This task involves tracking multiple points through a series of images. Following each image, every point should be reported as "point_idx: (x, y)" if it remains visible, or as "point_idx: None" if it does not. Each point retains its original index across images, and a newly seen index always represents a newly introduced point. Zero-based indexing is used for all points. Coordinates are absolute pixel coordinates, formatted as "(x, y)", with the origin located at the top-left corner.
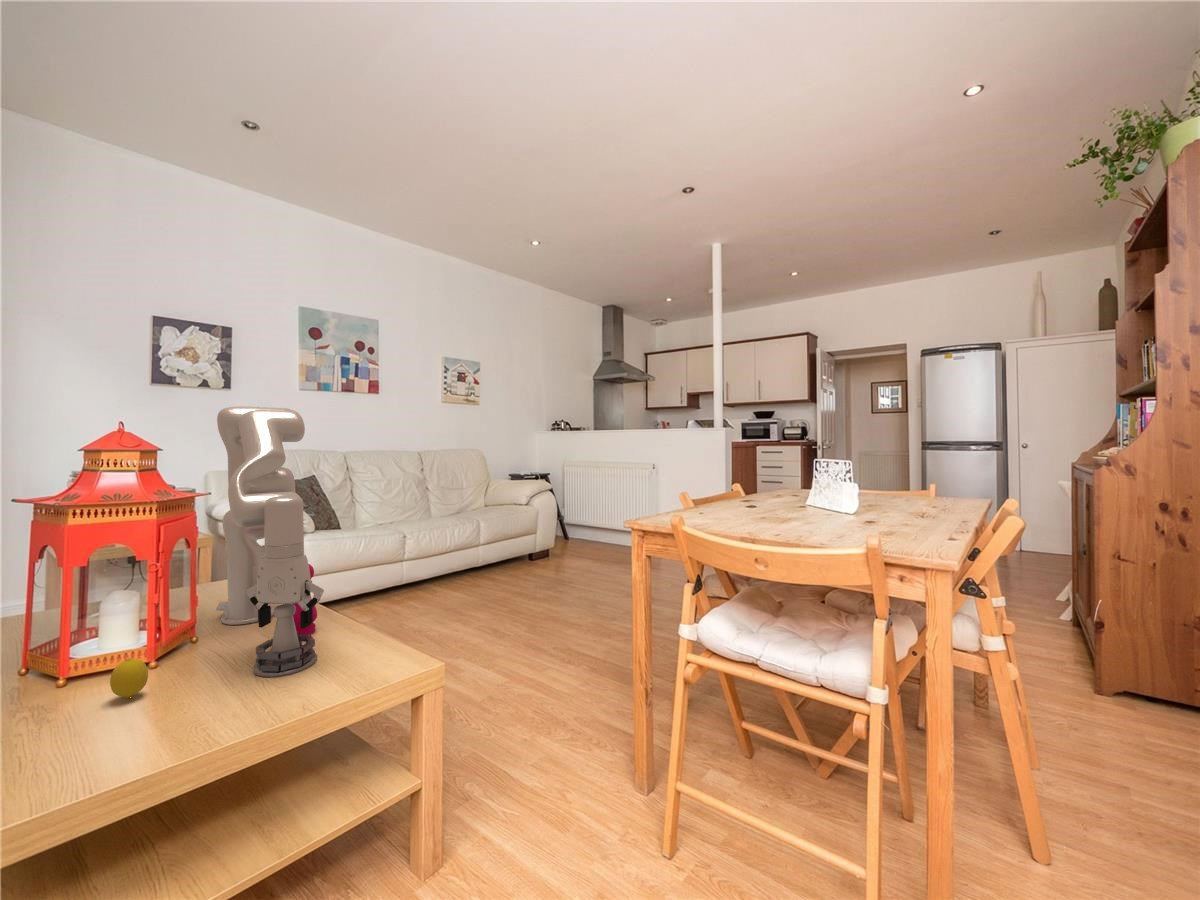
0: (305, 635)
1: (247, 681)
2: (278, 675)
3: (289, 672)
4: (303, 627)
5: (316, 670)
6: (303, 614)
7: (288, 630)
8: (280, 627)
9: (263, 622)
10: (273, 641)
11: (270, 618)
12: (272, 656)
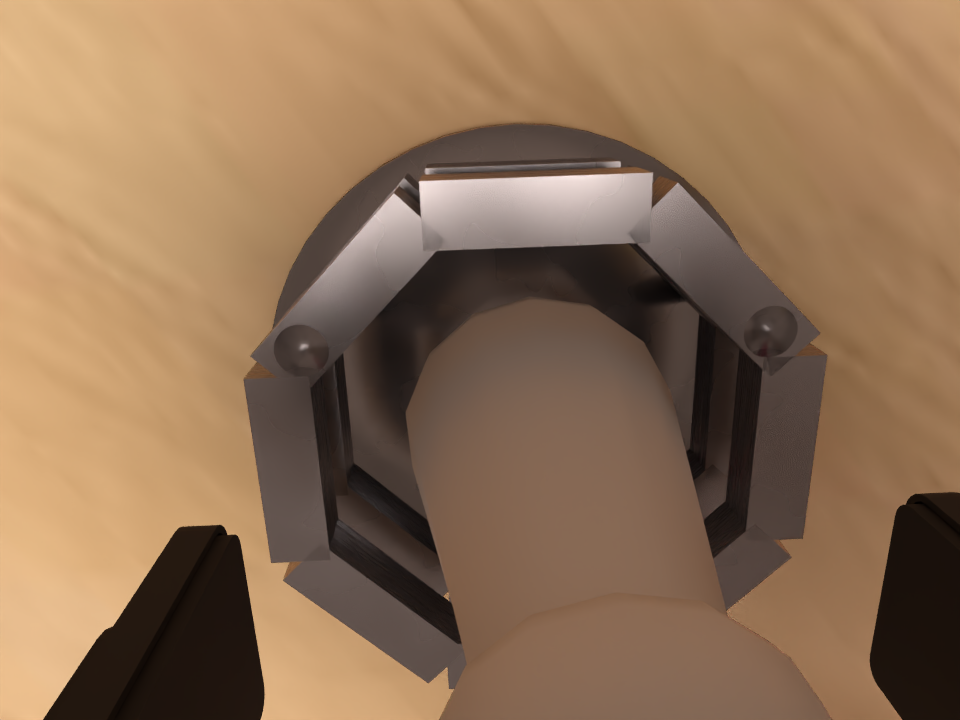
0: None
1: (646, 31)
2: (417, 146)
3: (344, 199)
4: (175, 533)
5: (171, 302)
6: (65, 716)
7: (468, 513)
8: (574, 502)
9: (935, 568)
10: (639, 399)
11: (909, 715)
12: (493, 177)
